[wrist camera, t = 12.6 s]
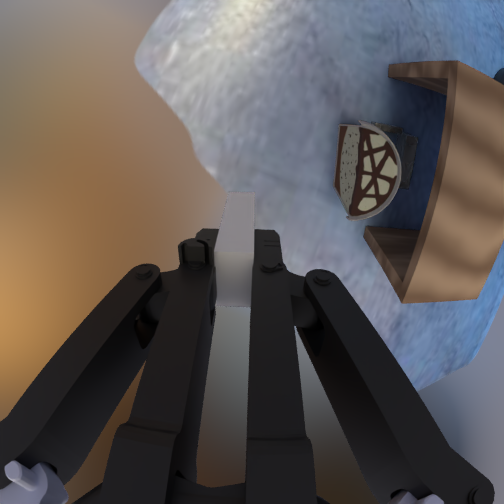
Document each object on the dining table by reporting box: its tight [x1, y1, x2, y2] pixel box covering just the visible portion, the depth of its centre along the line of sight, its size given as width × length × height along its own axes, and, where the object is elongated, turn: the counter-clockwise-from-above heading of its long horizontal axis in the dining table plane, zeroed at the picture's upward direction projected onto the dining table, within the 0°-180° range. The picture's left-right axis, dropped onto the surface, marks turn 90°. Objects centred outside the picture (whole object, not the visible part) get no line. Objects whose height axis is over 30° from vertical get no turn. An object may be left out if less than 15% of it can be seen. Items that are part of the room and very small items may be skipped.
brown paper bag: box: [364, 61, 504, 303], centre depth 31 cm, size 28×14×16 cm, turn 178°
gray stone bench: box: [371, 121, 418, 189], centre depth 37 cm, size 10×6×3 cm
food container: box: [333, 120, 401, 221], centre depth 34 cm, size 12×6×10 cm, turn 179°
